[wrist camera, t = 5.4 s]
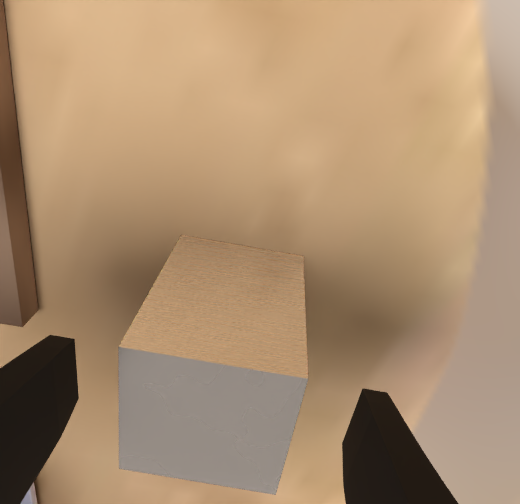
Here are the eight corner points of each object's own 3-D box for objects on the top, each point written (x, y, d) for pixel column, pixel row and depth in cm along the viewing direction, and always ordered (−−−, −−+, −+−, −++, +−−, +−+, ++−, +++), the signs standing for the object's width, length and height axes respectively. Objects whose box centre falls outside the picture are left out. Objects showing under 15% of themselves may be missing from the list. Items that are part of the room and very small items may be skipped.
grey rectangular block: (281, 349, 16) (275, 494, 11) (174, 331, 15) (119, 468, 11) (303, 255, 14) (308, 378, 9) (181, 234, 14) (118, 346, 9)
